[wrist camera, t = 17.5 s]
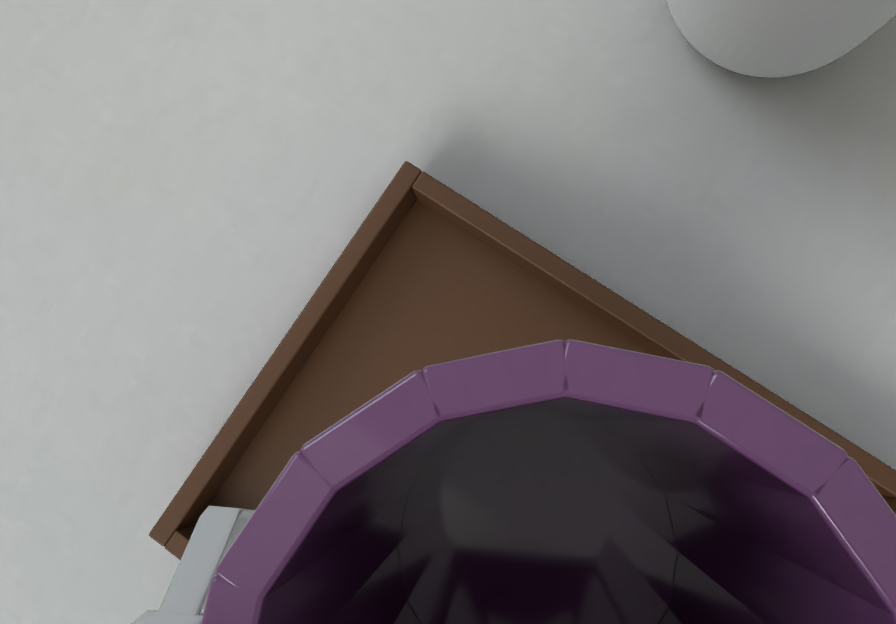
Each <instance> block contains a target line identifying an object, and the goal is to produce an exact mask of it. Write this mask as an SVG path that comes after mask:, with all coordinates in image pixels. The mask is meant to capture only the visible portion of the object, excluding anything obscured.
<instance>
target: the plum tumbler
mask: <svg viewBox="0 0 896 624" xmlns="http://www.w3.org/2000/svg"><path fill="white" fill-rule="evenodd" d="M215 573H216V575H214V577H213V578H212V580H211V583H210V587H209V591H208V596H207V600H206V604H205V609H204V613H203V617H202V622H201V624H896V515H895V513H894V512H893V511H892V509H891V508H890V507H889V505H888V504H887V502H886V501H885V500H884V498H883V497H882V496H881V494H880V493H879V492H878V490H877V489H876V488H875V486H874V485H873V483H872V482H871V481H870V479H869V478H868V477H867V475H866V474H865V473H864V471H863V470H862V469H861V467H860V466H859V465H858V463H857V462H856V460H854V459H853V458H851V457H848V454H847V453H846V452H845V450H844V449H842V448H841V447H839V446H838V445H836V444H835V443H833V442H831V441H830V440H828V439H827V438H825V437H824V436H822V435H820V434H819V433H817V432H816V431H814V430H813V429H811V428H810V427H808V426H806V425H805V424H803V423H802V422H800V421H799V420H797V419H795V418H794V417H792V416H791V415H789V414H788V413H786V412H784V411H783V410H781V409H780V408H778V407H777V406H775V405H774V404H772V403H770V402H769V401H767V400H766V399H764V398H763V397H761V396H759V395H758V394H756V393H755V392H753V391H752V390H750V389H748V388H747V387H745V386H744V385H742V384H741V383H739V382H738V381H736V380H734V379H733V378H731V377H730V376H728V375H727V374H725V373H723V372H722V371H718V370H713V368H711V367H710V366H707V365H702V364H696V363H691V362H686V361H681V360H676V359H671V358H666V357H660V356H655V355H650V354H645V353H640V352H635V351H630V350H624V349H619V348H614V347H609V346H604V345H599V344H594V343H588V342H583V341H578V340H573V339H570V340H566V342H564V341H563V340H558V339H557V340H552V341H547V342H542V343H537V344H532V345H527V346H522V347H517V348H512V349H507V350H502V351H497V352H492V353H487V354H482V355H477V356H472V357H467V358H462V359H457V360H452V361H447V362H442V363H436V364H431V365H427V366H425V367H424V368H422V371H421V370H415V371H413V372H412V373H410V374H409V375H407V376H406V377H404V378H403V379H401V380H400V381H398V382H397V383H395V384H394V385H392V386H391V387H389V388H388V389H386V390H385V391H383V392H382V393H380V394H379V395H377V396H376V397H374V398H373V399H371V400H370V401H368V402H367V403H365V404H364V405H362V406H361V407H359V408H358V409H356V410H355V411H353V412H352V413H350V414H349V415H347V416H346V417H344V418H343V419H341V420H339V421H338V422H336V423H335V424H333V425H332V426H330V427H329V428H327V429H326V430H324V431H323V432H321V433H320V434H318V435H317V436H315V437H314V438H312V439H311V440H309V441H308V442H306V443H305V444H304V445H303V446H302V448H301V451H298V452H296V453H295V454H293V456H292V457H291V459H290V460H289V462H288V463H287V465H286V466H285V468H284V469H283V471H282V472H281V474H280V475H279V476H278V478H277V479H276V481H275V482H274V484H273V485H272V487H271V488H270V490H269V491H268V493H267V494H266V496H265V497H264V498H263V500H262V501H261V503H260V504H259V506H258V507H257V509H256V510H255V512H254V513H253V515H252V516H251V518H250V519H249V520H248V522H247V523H246V525H245V526H244V528H243V529H242V531H241V532H240V534H239V535H238V537H237V538H236V540H235V541H234V542H233V544H232V545H231V547H230V548H229V550H228V551H227V553H226V554H225V556H224V557H223V559H222V560H221V562H220V563H219V564H218V566H217V568H216V572H215Z"/></svg>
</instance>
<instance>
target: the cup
mask: <svg viewBox="0 0 896 624" xmlns="http://www.w3.org/2000/svg"><path fill="white" fill-rule="evenodd" d="M667 4H668V7H669V10H670V12H671V15H672V17H673V20H674V21H675V23H676V25H677V27H678V29H679V30H680V31H681V33H682V34H683V36H684V37H685V38H686V39H687V41H688V42H689V43H690V44H691V45H692V46H693V47H694V48H695V49H696V50H697V51H698V52H699V53H701V54H702V55H703V56H704V57H706V58H707V59H709V60H710V61H712V62H714V63H715V64H717V65H719V66H721V67H723V68H726V69H728V70H730V71H733V72H737V73H740V74H744V75H749V76H755V77H786V76H793V75H798V74H801V73H805V72H809V71H812V70H815V69H817V68H820V67H822V66H824V65H827V64H829V63H831V62H832V61H834V60H836V59H838V58H840V57H841V56H843V55H845V54H846V53H848V52H849V51H851V50H852V49H854V48H855V47H856V46H858V45H859V44H860V43H862V42H863V41H865V40H866V39H867V38H868V37H870V36H871V35H872V34H873V33H875V32H876V31H877V30H878V29H880V28H881V27H882V26H883V25H885V24H886V23H887V22H888V21H890V20H891V19H892V18H894V17H895V16H896V0H667Z"/></svg>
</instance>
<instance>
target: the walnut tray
mask: <svg viewBox="0 0 896 624" xmlns="http://www.w3.org/2000/svg"><path fill="white" fill-rule="evenodd" d="M557 339H558V340H563V341H564V342H566V340H570V339H573V340H578V341H583V342H588V343H594V344H599V345H604V346H609V347H614V348H619V349H624V350H630V351H635V352H640V353H645V354H650V355H655V356H660V357H666V358H671V359H676V360H681V361H686V362H691V363H696V364H702V365H707V366H710V367H711V368H713V370H718V371H722V372H723V373H725V374H727V375H728V376H730V377H731V378H733V379H734V380H736V381H738V382H739V383H741V384H742V385H744V386H745V387H747V388H748V389H750V390H752V391H753V392H755V393H756V394H758V395H759V396H761V397H763V398H764V399H766V400H767V401H769V402H770V403H772V404H774V405H775V406H777V407H778V408H780V409H781V410H783V411H784V412H786V413H788V414H789V415H791V416H792V417H794V418H795V419H797V420H799V421H800V422H802V423H803V424H805V425H806V426H808V427H810V428H811V429H813V430H814V431H816V432H817V433H819V434H820V435H822V436H824V437H825V438H827V439H828V440H830V441H831V442H833V443H835V444H836V445H838V446H839V447H841V448H842V449H844V450H845V452H846V453H847V454H848V457H851V458H853V459H854V460H856V462H857V463H858V465H859V466H860V467H861V469H862V470H863V471H864V473H865V474H866V475H867V477H868V478H869V479H870V481H871V482H872V483H873V485H874V486H875V488H876V489H877V490H878V492H879V493H880V494H881V496H882V497H883V498H884V500H885V501H886V502H887V504H888V505H889V507H890V508H891V509H892V511H893V512H894V513H895V515H896V470H894V469H893V468H891V467H890V466H888V465H886V464H885V463H883V462H882V461H880V460H879V459H877V458H875V457H874V456H872V455H871V454H869V453H867V452H866V451H864V450H863V449H861V448H860V447H858V446H856V445H855V444H853V443H852V442H850V441H849V440H847V439H845V438H844V437H842V436H841V435H839V434H837V433H836V432H834V431H833V430H831V429H830V428H828V427H826V426H825V425H823V424H822V423H820V422H819V421H817V420H815V419H814V418H812V417H811V416H809V415H807V414H806V413H804V412H803V411H801V410H800V409H798V408H796V407H795V406H793V405H792V404H790V403H788V402H787V401H785V400H784V399H782V398H781V397H779V396H777V395H776V394H774V393H773V392H771V391H770V390H768V389H766V388H765V387H763V386H762V385H760V384H758V383H757V382H755V381H754V380H752V379H751V378H749V377H747V376H746V375H744V374H743V373H741V372H739V371H738V370H736V369H735V368H733V367H732V366H730V365H728V364H727V363H725V362H724V361H722V360H721V359H719V358H717V357H716V356H714V355H713V354H711V353H709V352H708V351H706V350H705V349H703V348H702V347H700V346H698V345H697V344H695V343H694V342H692V341H690V340H689V339H687V338H686V337H684V336H683V335H681V334H679V333H678V332H676V331H675V330H673V329H672V328H670V327H668V326H667V325H665V324H664V323H662V322H660V321H659V320H657V319H656V318H654V317H653V316H651V315H649V314H648V313H646V312H645V311H643V310H642V309H640V308H638V307H637V306H635V305H634V304H632V303H630V302H629V301H627V300H626V299H624V298H623V297H621V296H619V295H618V294H616V293H615V292H613V291H611V290H610V289H608V288H607V287H605V286H604V285H602V284H600V283H599V282H597V281H596V280H594V279H593V278H591V277H589V276H588V275H586V274H585V273H583V272H581V271H580V270H578V269H577V268H575V267H574V266H572V265H570V264H569V263H567V262H566V261H564V260H562V259H561V258H559V257H558V256H556V255H555V254H553V253H551V252H550V251H548V250H547V249H545V248H544V247H542V246H540V245H539V244H537V243H536V242H534V241H532V240H531V239H529V238H528V237H526V236H525V235H523V234H521V233H520V232H518V231H517V230H515V229H513V228H512V227H510V226H509V225H507V224H506V223H504V222H502V221H501V220H499V219H498V218H496V217H495V216H493V215H491V214H490V213H488V212H487V211H485V210H483V209H482V208H480V207H479V206H477V205H476V204H474V203H472V202H471V201H469V200H468V199H466V198H465V197H463V196H461V195H460V194H458V193H457V192H455V191H453V190H452V189H450V188H449V187H447V186H446V185H444V184H442V183H441V182H439V181H438V180H436V179H434V178H433V177H431V176H430V175H428V174H427V173H425V172H422V171H421V170H420V169H419V168H417V167H416V166H414V165H412V164H411V163H409V162H407V161H406V162H404V164H403V165H402V167H401V168H400V170H399V171H398V172H397V174H396V175H395V177H394V178H393V180H392V181H391V183H390V184H389V186H388V187H387V188H386V190H385V191H384V193H383V194H382V196H381V197H380V199H379V200H378V202H377V203H376V204H375V206H374V207H373V209H372V210H371V212H370V213H369V215H368V216H367V218H366V219H365V220H364V222H363V223H362V225H361V226H360V228H359V229H358V231H357V232H356V234H355V235H354V236H353V238H352V239H351V241H350V242H349V244H348V245H347V247H346V248H345V250H344V251H343V252H342V254H341V255H340V257H339V258H338V260H337V261H336V263H335V264H334V266H333V267H332V268H331V270H330V271H329V273H328V274H327V276H326V277H325V279H324V280H323V282H322V283H321V284H320V286H319V287H318V289H317V290H316V292H315V293H314V295H313V296H312V298H311V299H310V300H309V302H308V303H307V305H306V306H305V308H304V309H303V311H302V312H301V314H300V315H299V316H298V318H297V319H296V321H295V322H294V324H293V325H292V327H291V328H290V330H289V331H288V333H287V334H286V335H285V337H284V338H283V340H282V341H281V343H280V344H279V346H278V347H277V349H276V350H275V351H274V353H273V354H272V356H271V357H270V359H269V360H268V362H267V363H266V365H265V366H264V367H263V369H262V370H261V372H260V373H259V375H258V376H257V378H256V379H255V381H254V382H253V383H252V385H251V386H250V388H249V389H248V391H247V392H246V394H245V395H244V397H243V398H242V399H241V401H240V402H239V404H238V405H237V407H236V408H235V410H234V411H233V413H232V414H231V415H230V417H229V418H228V420H227V421H226V423H225V424H224V426H223V427H222V429H221V430H220V431H219V433H218V434H217V436H216V437H215V439H214V440H213V442H212V443H211V445H210V446H209V447H208V449H207V450H206V452H205V453H204V455H203V456H202V458H201V459H200V461H199V462H198V463H197V465H196V466H195V468H194V469H193V471H192V472H191V474H190V475H189V477H188V478H187V479H186V481H185V482H184V484H183V485H182V487H181V488H180V490H179V491H178V493H177V494H176V495H175V497H174V498H173V500H172V501H171V503H170V504H169V506H168V507H167V509H166V510H165V511H164V513H163V514H162V516H161V517H160V519H159V520H158V522H157V523H156V525H155V526H154V527H153V529H152V530H151V532H150V534H149V536H150V537H151V538H153V539H154V540H155V541H157V542H158V543H159V544H161V545H162V546H165V549H167V550H168V551H169V552H171V553H172V554H173V555H175V556H176V557H177V558H178V559H180V560H181V558H182V556H183V553H184V551H185V549H186V547H187V544H188V542H189V540H190V538H191V535H192V533H193V531H194V529H195V526H196V524H197V522H198V520H199V517H200V516H201V514H202V513H203V512H204V511H205V510H206V509H207V507H208V506H219V507H231V508H242V509H249V510H256V509H257V507H258V506H259V504H260V503H261V501H262V500H263V498H264V497H265V496H266V494H267V493H268V491H269V490H270V488H271V487H272V485H273V484H274V482H275V481H276V479H277V478H278V476H279V475H280V474H281V472H282V471H283V469H284V468H285V466H286V465H287V463H288V462H289V460H290V459H291V457H292V456H293V454H295V453H296V452H298V451H301V448H302V446H303V445H304V444H305V443H306V442H308V441H309V440H311V439H312V438H314V437H315V436H317V435H318V434H320V433H321V432H323V431H324V430H326V429H327V428H329V427H330V426H332V425H333V424H335V423H336V422H338V421H339V420H341V419H343V418H344V417H346V416H347V415H349V414H350V413H352V412H353V411H355V410H356V409H358V408H359V407H361V406H362V405H364V404H365V403H367V402H368V401H370V400H371V399H373V398H374V397H376V396H377V395H379V394H380V393H382V392H383V391H385V390H386V389H388V388H389V387H391V386H392V385H394V384H395V383H397V382H398V381H400V380H401V379H403V378H404V377H406V376H407V375H409V374H410V373H412V372H413V371H415V370H421V371H422V368H424V367H425V366H427V365H431V364H436V363H442V362H447V361H452V360H457V359H462V358H467V357H472V356H477V355H482V354H487V353H492V352H497V351H502V350H507V349H512V348H517V347H522V346H527V345H532V344H537V343H542V342H547V341H552V340H557Z"/></svg>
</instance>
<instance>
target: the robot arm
mask: <svg viewBox="0 0 896 624" xmlns="http://www.w3.org/2000/svg"><path fill="white" fill-rule="evenodd" d="M254 512H255V510H249V509H242V508H231V507H219V506H208V507H207V509H206V510H205V511H204V512H203V513H202V514H201V516H200V517H199V520H198V522H197V524H196V526H195V529H194V531H193V533H192V535H191V538H190V540H189V542H188V544H187V547H186V549H185V551H184V553H183V556H182V558H181V560H180V563H179V565H178V567H177V569H176V572H175V574H174V576H173V578H172V581H171V583H170V585H169V587H168V590H167V592H166V594H165V596H164V599H163V601H162V603H161V605H160V608H159V610H158V611H156V610H147V611H146V612H145V613H143V614H142V615H141V616H140V617H139V618H137V619H136V620H135V621H134V622H132V623H131V624H201V622H202V617H203V613H204V609H205V604H206V600H207V596H208V591H209V587H210V583H211V580H212V578H213V577H214V575H216V573H215V572H216V568H217V566H218V564H219V563H220V562H221V560H222V559H223V557H224V556H225V554H226V553H227V551H228V550H229V548H230V547H231V545H232V544H233V542H234V541H235V540H236V538H237V537H238V535H239V534H240V532H241V531H242V529H243V528H244V526H245V525H246V523H247V522H248V520H249V519H250V518H251V516H252V515H253V513H254Z"/></svg>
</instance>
